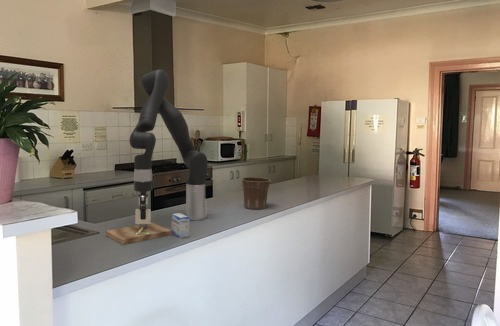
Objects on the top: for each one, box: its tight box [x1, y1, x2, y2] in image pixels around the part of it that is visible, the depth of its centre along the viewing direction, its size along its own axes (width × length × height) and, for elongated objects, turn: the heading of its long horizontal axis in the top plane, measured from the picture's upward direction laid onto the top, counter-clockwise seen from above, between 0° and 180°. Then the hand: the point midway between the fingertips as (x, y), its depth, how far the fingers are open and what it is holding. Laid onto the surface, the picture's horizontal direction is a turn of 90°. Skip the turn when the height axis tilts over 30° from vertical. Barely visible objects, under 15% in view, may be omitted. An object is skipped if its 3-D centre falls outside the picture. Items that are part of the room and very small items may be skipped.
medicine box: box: [171, 212, 190, 239], centre depth 177 cm, size 8×4×9 cm, turn 37°
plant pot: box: [241, 176, 272, 210], centre depth 234 cm, size 16×16×16 cm
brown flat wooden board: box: [105, 222, 173, 246], centre depth 175 cm, size 22×16×2 cm
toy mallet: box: [134, 208, 152, 234], centre depth 174 cm, size 11×6×8 cm, turn 4°
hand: (143, 216), depth 178 cm, fingers open, 8 cm apart
